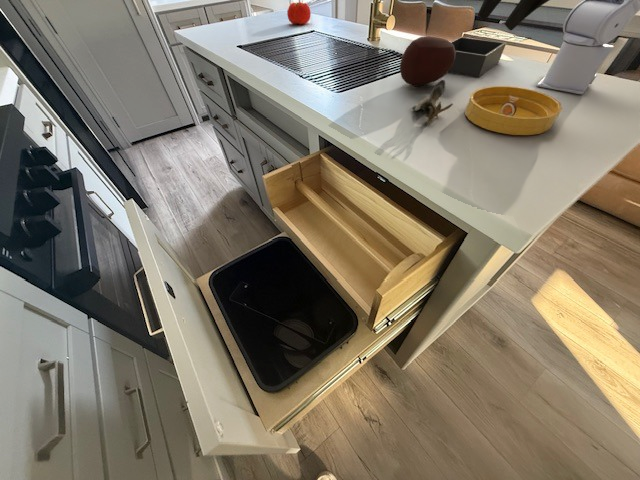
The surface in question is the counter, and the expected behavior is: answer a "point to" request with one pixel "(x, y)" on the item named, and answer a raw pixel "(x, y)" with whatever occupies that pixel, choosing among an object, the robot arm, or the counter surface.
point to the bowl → (530, 115)
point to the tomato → (298, 13)
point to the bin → (475, 56)
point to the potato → (426, 60)
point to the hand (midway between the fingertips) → (493, 22)
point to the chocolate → (509, 108)
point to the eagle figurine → (433, 102)
